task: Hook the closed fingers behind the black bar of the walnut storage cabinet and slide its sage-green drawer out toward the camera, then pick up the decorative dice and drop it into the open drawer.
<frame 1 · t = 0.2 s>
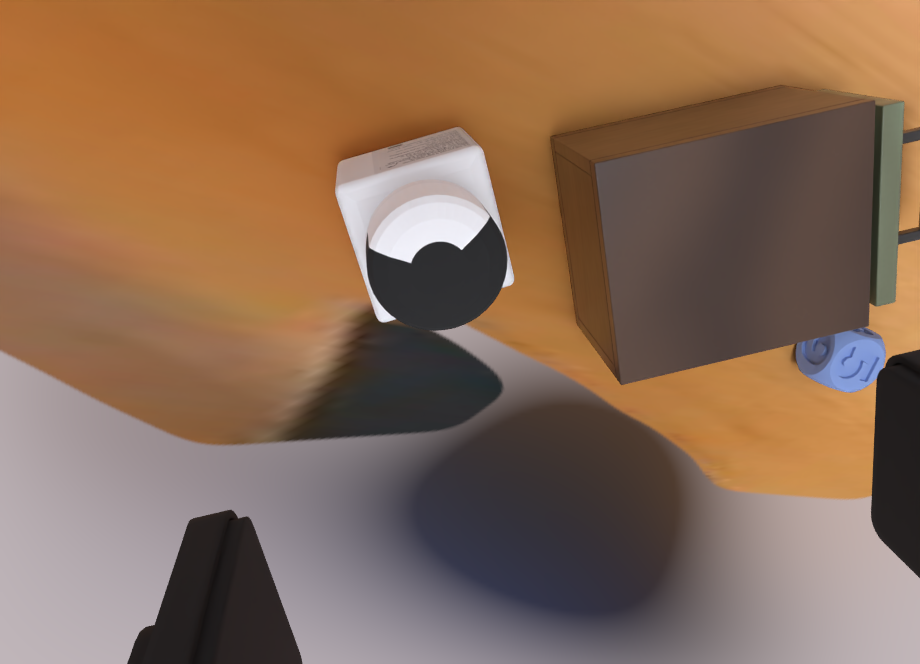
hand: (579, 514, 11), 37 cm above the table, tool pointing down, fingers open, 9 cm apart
decorative dice: (821, 340, 54), on the table
cabinet: (674, 210, 48), on the table
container: (416, 204, 46), on the table
drawer: (790, 208, 44), point 5 cm above the table, slide at 1.0 cm
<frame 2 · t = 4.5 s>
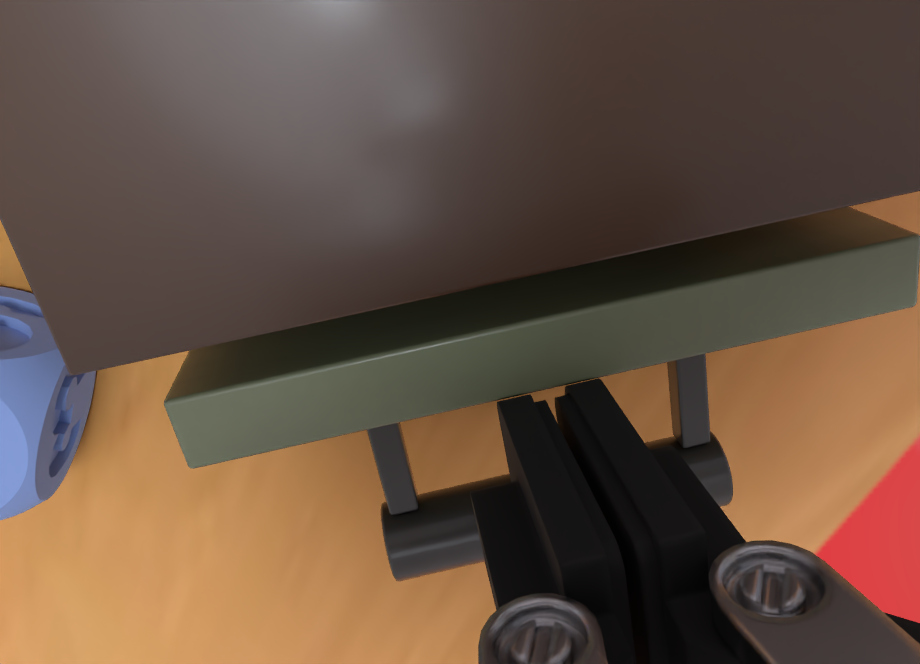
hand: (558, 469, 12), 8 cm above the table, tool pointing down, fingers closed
decorative dice: (14, 358, 19), on the table
drawer: (477, 79, 13), point 5 cm above the table, slide at 1.0 cm, touching gripper
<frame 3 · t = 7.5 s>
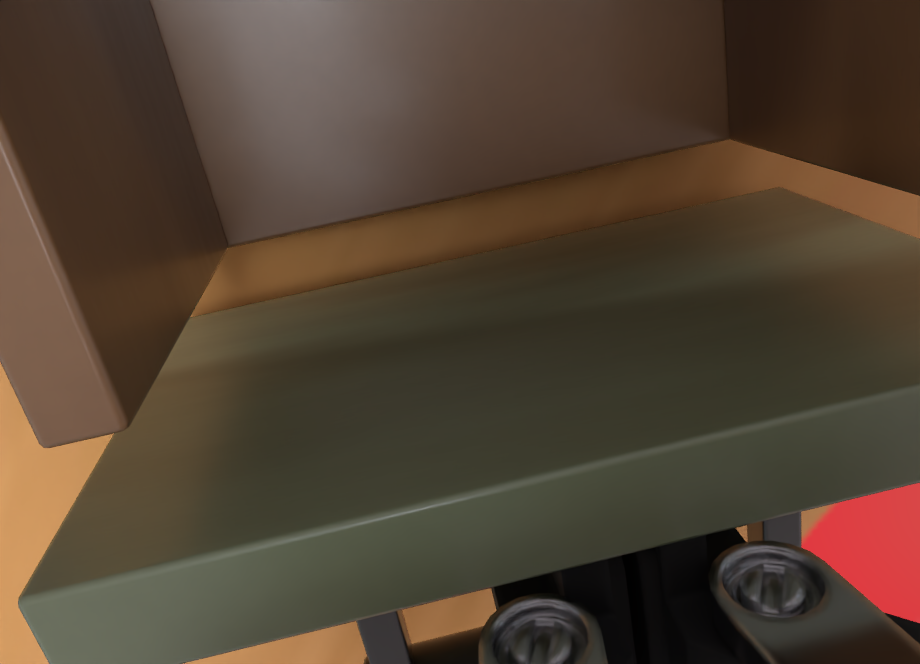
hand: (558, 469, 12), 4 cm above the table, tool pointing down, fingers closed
drawer: (493, 98, 9), point 5 cm above the table, slide at 8.0 cm
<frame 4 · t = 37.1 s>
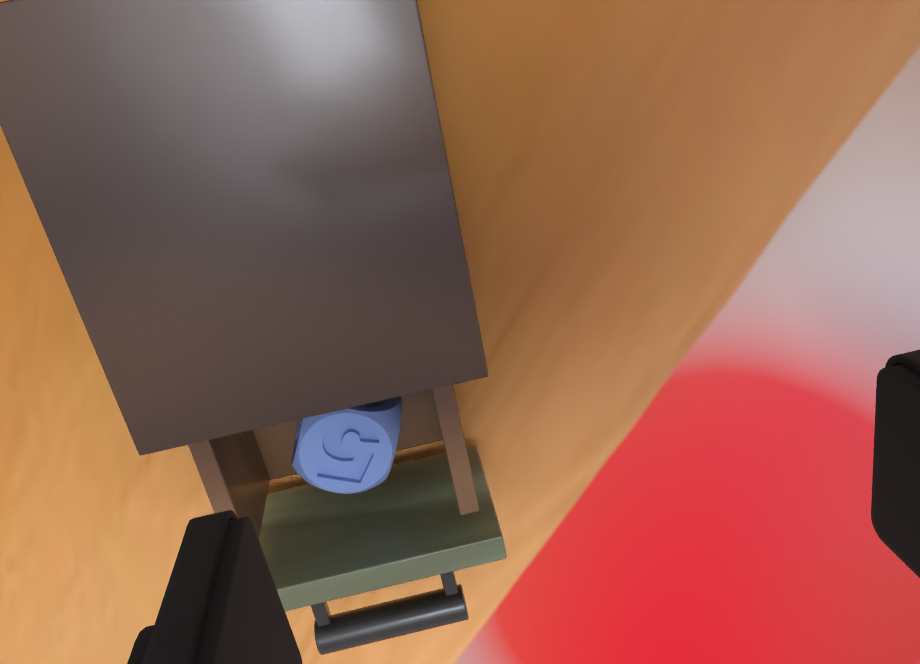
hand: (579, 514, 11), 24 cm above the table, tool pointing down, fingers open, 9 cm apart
decorative dice: (346, 406, 35), point 2 cm above the table, touching drawer
cabinet: (281, 167, 32), on the table
drawer: (348, 458, 33), point 5 cm above the table, slide at 7.7 cm, touching decorative dice
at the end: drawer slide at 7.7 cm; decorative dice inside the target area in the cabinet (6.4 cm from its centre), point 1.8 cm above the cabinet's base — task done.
